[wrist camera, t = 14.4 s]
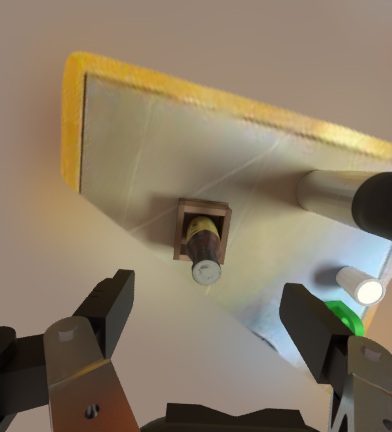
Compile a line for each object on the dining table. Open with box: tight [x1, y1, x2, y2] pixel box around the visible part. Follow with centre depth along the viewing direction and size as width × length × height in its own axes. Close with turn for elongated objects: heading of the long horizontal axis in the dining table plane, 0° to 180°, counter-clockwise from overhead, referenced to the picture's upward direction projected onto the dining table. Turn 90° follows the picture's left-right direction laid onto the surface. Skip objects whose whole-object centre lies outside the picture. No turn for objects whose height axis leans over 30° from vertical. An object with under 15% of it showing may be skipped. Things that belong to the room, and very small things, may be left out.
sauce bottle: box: [186, 215, 222, 286], centre depth 38 cm, size 7×6×20 cm
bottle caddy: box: [173, 198, 232, 265], centre depth 45 cm, size 11×12×7 cm
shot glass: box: [336, 266, 386, 306], centre depth 49 cm, size 7×7×7 cm
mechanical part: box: [324, 301, 364, 337], centre depth 51 cm, size 12×6×8 cm, turn 5°
